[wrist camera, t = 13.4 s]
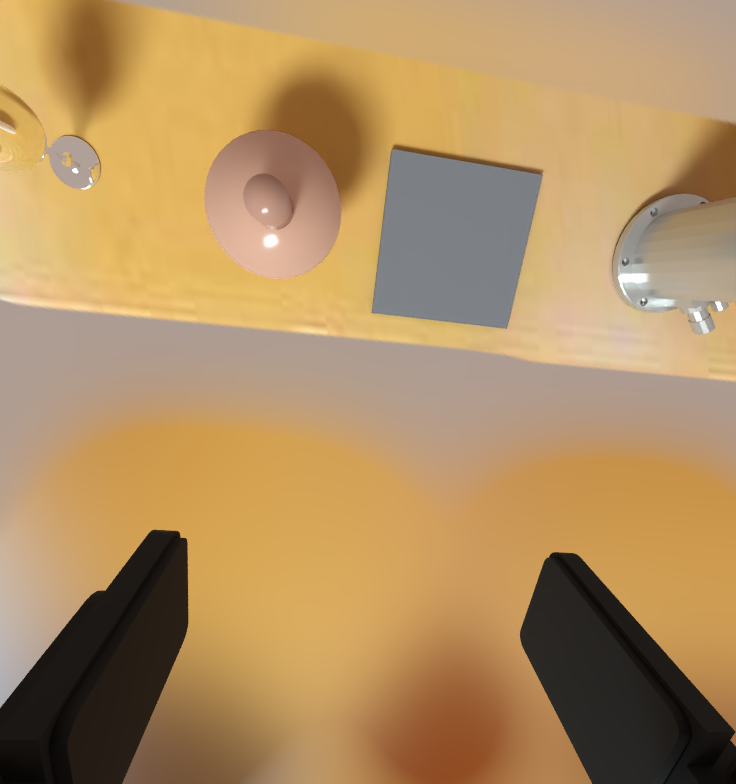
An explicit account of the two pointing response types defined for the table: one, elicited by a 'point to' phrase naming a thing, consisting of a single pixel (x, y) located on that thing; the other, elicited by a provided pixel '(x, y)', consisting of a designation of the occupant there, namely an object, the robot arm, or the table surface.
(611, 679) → the robot arm
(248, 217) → the lid
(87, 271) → the table surface
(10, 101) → the wineglass
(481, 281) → the mat
